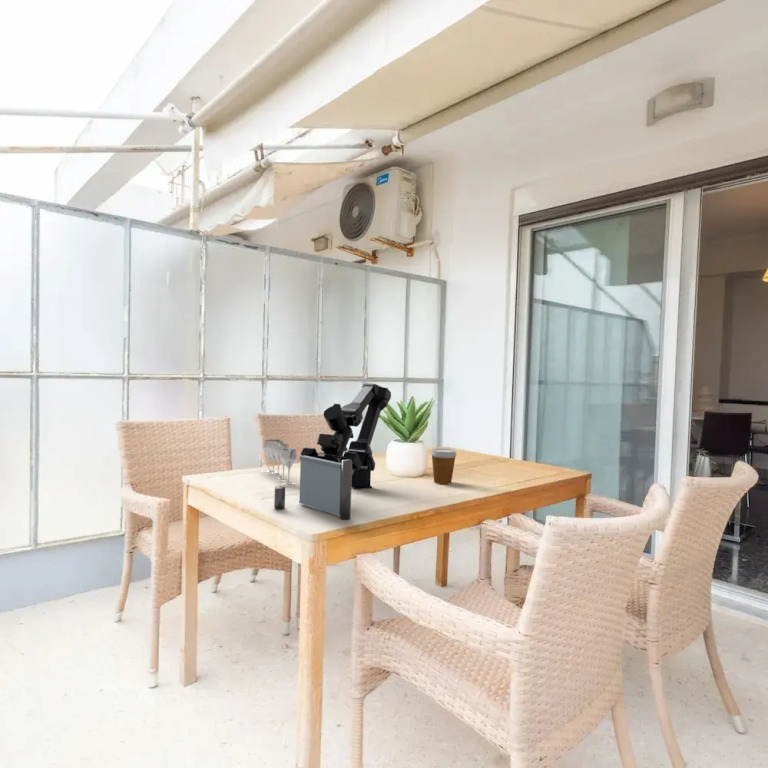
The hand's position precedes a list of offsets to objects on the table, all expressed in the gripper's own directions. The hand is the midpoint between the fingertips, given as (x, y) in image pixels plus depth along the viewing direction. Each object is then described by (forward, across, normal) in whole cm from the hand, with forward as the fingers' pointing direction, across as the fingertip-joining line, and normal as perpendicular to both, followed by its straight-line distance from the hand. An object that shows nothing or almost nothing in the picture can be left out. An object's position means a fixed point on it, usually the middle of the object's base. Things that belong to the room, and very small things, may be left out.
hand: (320, 481), depth 155 cm
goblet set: (-14, -33, +24) cm, 43 cm away
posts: (+11, +2, -1) cm, 11 cm away
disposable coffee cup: (-30, +23, +41) cm, 56 cm away
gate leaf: (+8, +3, +2) cm, 9 cm away
